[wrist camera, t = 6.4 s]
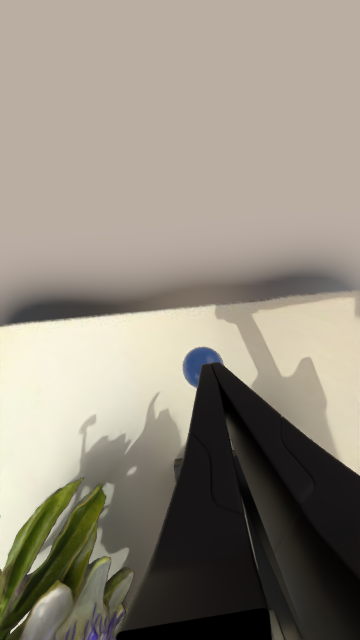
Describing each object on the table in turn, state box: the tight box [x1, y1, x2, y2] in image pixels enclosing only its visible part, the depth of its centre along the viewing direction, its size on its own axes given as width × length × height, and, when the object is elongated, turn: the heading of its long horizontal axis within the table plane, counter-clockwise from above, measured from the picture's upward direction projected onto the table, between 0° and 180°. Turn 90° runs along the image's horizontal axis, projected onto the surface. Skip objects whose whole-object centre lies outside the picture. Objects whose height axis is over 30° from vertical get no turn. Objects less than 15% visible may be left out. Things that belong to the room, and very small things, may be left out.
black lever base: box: [174, 450, 307, 640], centre depth 9 cm, size 10×7×10 cm
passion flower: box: [0, 477, 134, 640], centre depth 10 cm, size 11×11×12 cm
